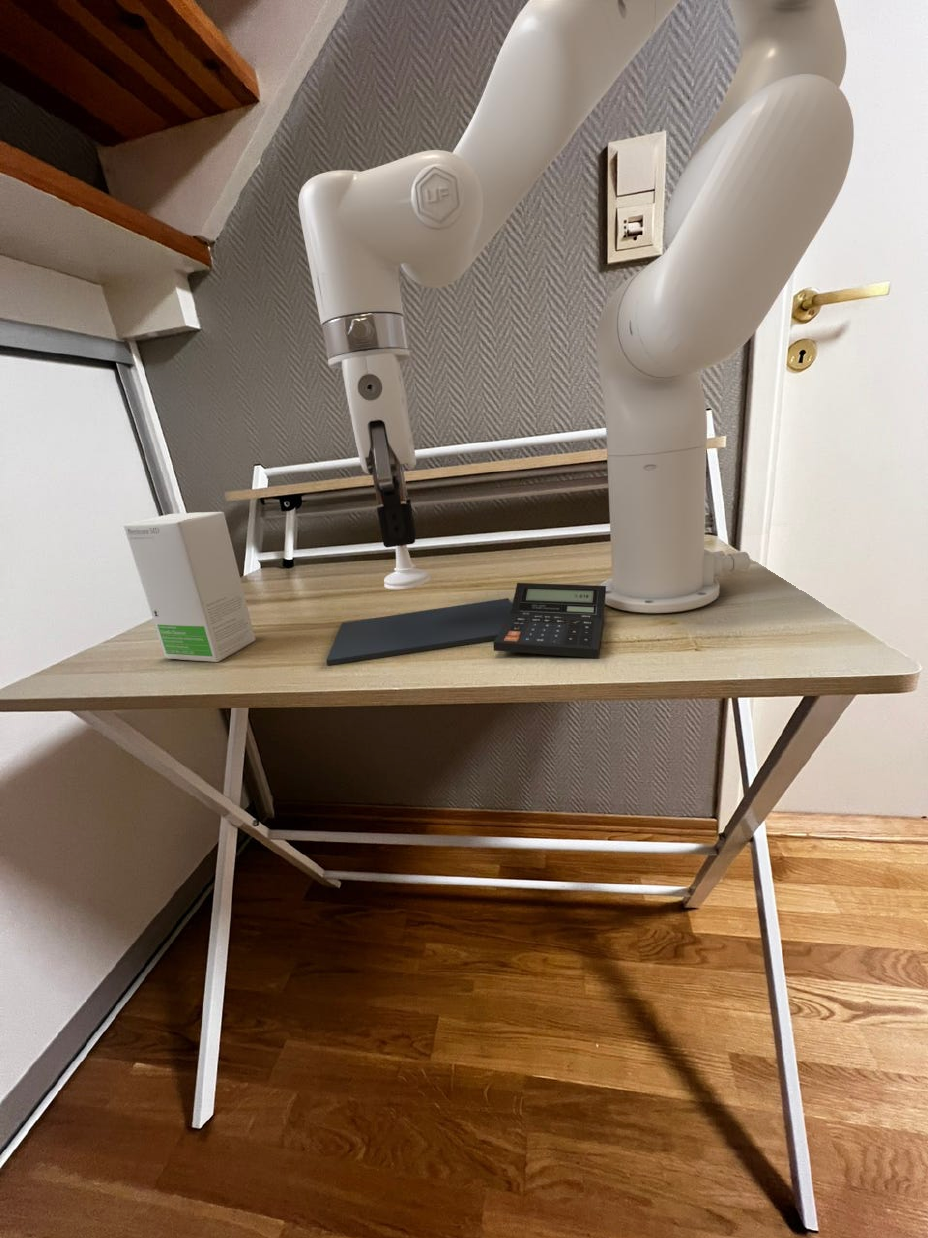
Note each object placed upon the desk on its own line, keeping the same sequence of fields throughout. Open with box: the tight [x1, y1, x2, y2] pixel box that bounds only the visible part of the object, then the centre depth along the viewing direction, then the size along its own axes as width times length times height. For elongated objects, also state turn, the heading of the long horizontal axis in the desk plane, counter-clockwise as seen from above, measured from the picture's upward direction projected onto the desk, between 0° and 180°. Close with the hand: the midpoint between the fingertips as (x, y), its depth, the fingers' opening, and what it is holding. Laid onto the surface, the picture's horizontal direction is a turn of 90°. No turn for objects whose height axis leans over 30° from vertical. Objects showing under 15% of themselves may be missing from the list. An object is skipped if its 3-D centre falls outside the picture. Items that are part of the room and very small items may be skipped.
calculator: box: [492, 582, 606, 659], centre depth 53 cm, size 9×12×3 cm
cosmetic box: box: [122, 511, 256, 663], centre depth 60 cm, size 8×7×16 cm
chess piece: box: [383, 545, 431, 591], centre depth 55 cm, size 5×5×10 cm
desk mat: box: [325, 597, 512, 666], centre depth 59 cm, size 20×11×1 cm, turn 94°
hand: (400, 540), depth 55 cm, fingers closed on chess piece
